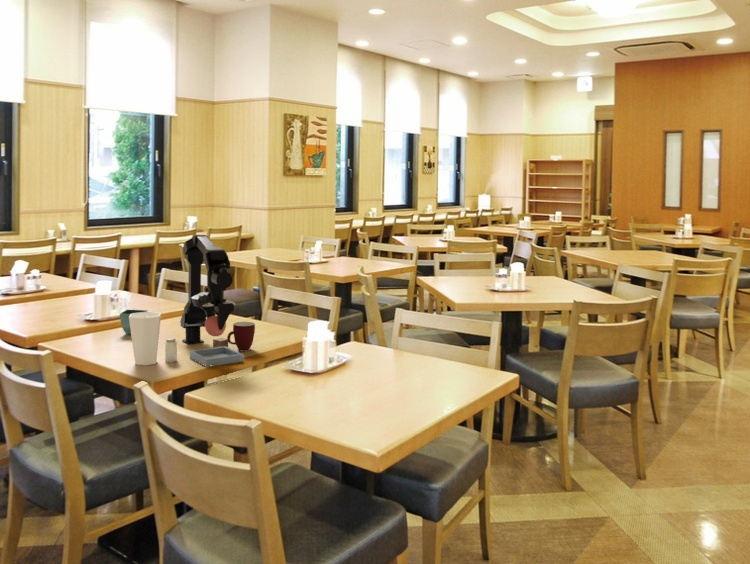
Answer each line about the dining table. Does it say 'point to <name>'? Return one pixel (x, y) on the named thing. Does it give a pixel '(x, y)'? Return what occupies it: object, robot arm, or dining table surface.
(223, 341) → the walnut block
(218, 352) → the dish
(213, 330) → the apple
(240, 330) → the mug
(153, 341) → the cup
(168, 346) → the white shaker
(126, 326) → the flower pot
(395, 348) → the dining table surface
